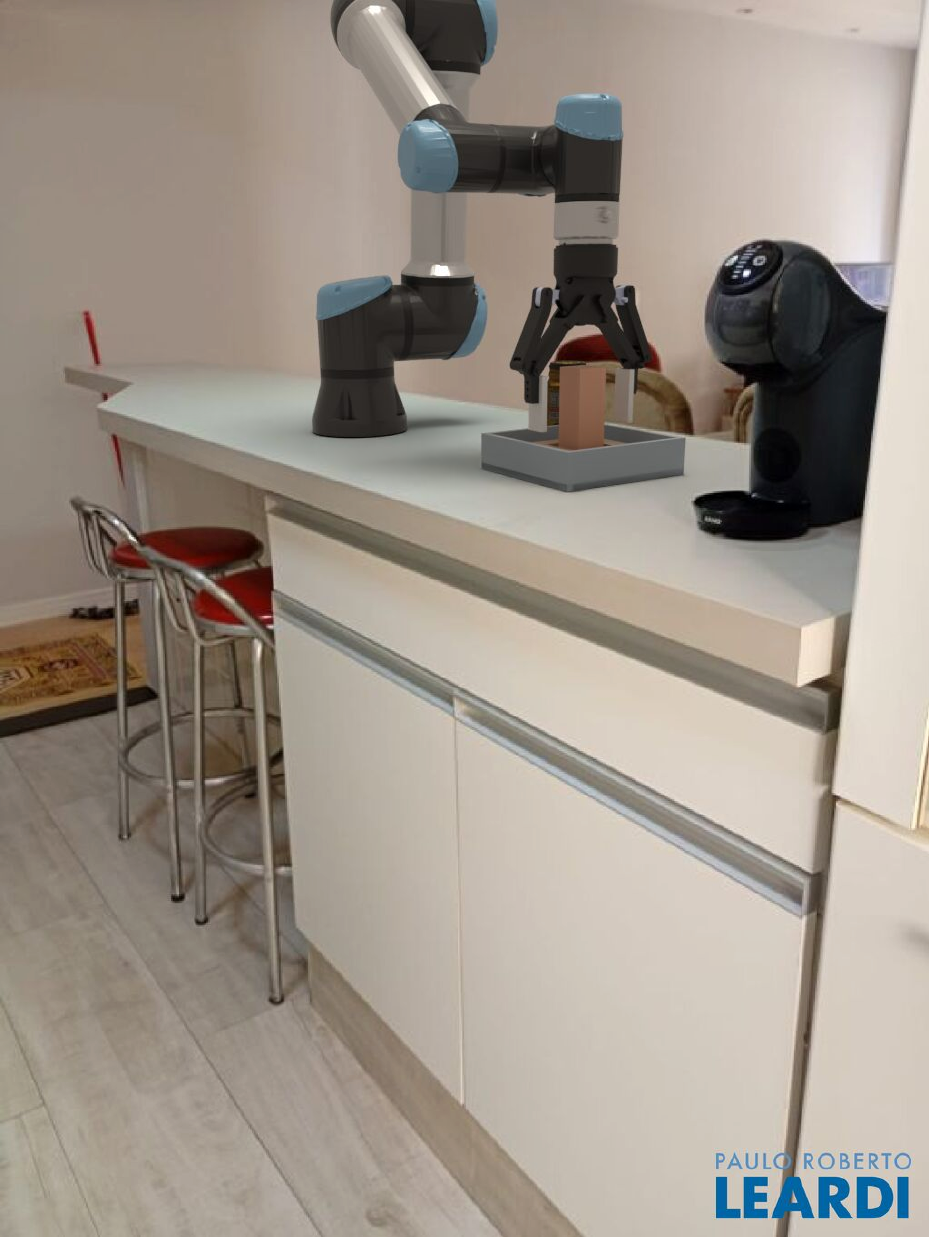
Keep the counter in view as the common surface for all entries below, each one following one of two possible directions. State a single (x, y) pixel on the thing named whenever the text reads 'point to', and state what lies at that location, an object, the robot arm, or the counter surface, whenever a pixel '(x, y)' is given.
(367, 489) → the counter surface
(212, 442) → the counter surface
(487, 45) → the robot arm
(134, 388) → the counter surface
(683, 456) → the tray box
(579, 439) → the peg
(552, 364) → the condiment
